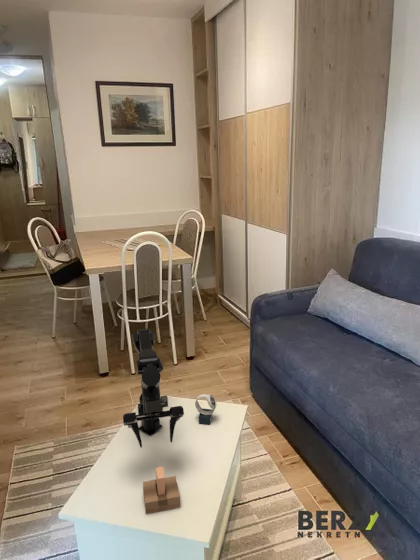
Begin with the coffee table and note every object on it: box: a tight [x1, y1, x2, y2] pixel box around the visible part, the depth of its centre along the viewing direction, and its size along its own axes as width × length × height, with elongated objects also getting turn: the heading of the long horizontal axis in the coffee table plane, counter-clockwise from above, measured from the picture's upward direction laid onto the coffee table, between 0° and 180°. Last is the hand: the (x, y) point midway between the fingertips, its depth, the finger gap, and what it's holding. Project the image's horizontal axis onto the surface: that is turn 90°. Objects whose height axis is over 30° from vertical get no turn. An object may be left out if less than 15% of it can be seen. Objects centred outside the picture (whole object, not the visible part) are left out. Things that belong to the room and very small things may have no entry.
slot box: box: [142, 475, 181, 515], centre depth 121 cm, size 8×10×4 cm
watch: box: [194, 393, 217, 426], centre depth 155 cm, size 6×8×11 cm
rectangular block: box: [155, 466, 166, 497], centre depth 120 cm, size 4×2×10 cm, turn 14°
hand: (156, 444), depth 125 cm, fingers open, 9 cm apart
